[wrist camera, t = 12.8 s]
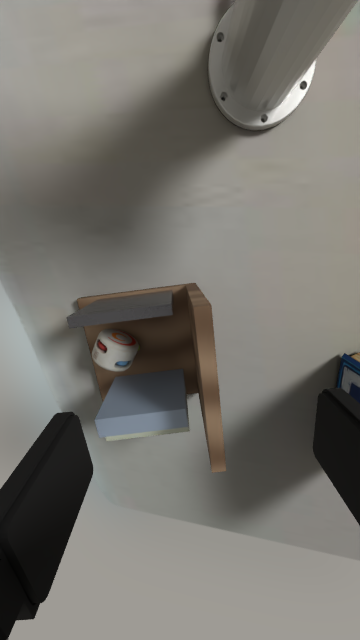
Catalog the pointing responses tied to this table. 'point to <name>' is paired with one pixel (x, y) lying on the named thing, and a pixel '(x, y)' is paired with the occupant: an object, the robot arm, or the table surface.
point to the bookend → (123, 309)
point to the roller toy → (115, 350)
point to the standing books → (144, 406)
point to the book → (350, 375)
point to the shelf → (173, 353)
